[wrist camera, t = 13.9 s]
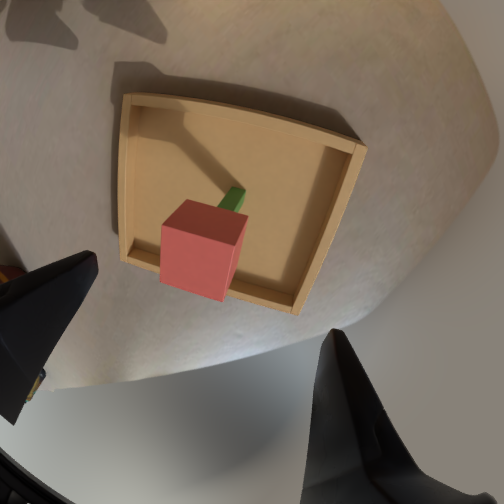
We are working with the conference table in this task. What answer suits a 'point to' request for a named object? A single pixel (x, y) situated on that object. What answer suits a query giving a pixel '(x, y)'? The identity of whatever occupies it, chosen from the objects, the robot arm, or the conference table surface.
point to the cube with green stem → (203, 245)
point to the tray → (240, 176)
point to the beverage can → (36, 384)
